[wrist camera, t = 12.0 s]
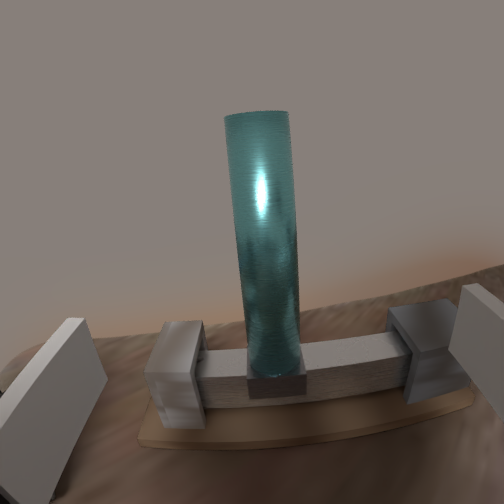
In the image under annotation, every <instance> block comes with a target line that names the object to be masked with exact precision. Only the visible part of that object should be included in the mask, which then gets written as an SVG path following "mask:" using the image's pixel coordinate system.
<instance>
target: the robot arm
mask: <svg viewBox="0 0 504 504" xmlns="http://www.w3.org/2000/svg"><path fill="white" fill-rule="evenodd" d="M448 350H449V351H450V352H451V354H452V355H453V356H454V357H455V359H456V360H457V361H458V363H459V364H460V365H461V366H462V368H463V369H464V370H465V371H466V373H467V374H468V375H469V377H470V378H471V379H472V381H473V382H474V383H475V384H476V386H477V387H478V388H479V390H480V391H481V392H482V394H483V395H484V397H485V398H486V399H487V401H488V402H489V403H490V405H491V406H492V408H493V409H494V410H495V412H496V413H497V415H498V416H499V417H500V419H501V420H502V422H503V423H504V303H503V302H501V301H500V300H499V299H498V298H496V297H495V296H494V295H493V294H491V293H490V292H489V291H487V290H486V289H485V288H484V287H482V286H481V285H480V284H478V283H475V284H469V285H463V286H462V290H461V296H460V301H459V306H458V311H457V315H456V320H455V324H454V329H453V333H452V337H451V341H450V345H449V348H448ZM107 381H108V378H107V376H106V374H105V371H104V369H103V366H102V364H101V361H100V359H99V356H98V353H97V351H96V348H95V345H94V343H93V340H92V337H91V334H90V331H89V329H88V326H87V323H86V320H85V318H67V319H66V321H65V322H64V323H63V324H62V325H61V326H60V327H59V328H58V329H57V331H56V332H55V333H54V334H53V335H52V336H51V337H50V338H49V340H48V341H47V342H46V343H45V344H44V345H43V347H42V348H41V349H40V350H39V351H38V352H37V354H36V355H35V356H34V357H33V358H32V359H31V361H30V362H29V363H28V364H27V365H26V367H25V368H24V369H23V370H22V372H21V373H20V374H19V375H18V376H17V378H16V379H15V380H14V381H13V383H12V384H11V385H10V386H9V388H8V389H7V390H6V391H5V392H3V393H2V394H1V395H0V504H9V503H10V504H49V501H50V499H51V497H52V494H53V492H54V490H55V488H56V485H57V483H58V481H59V479H60V476H61V474H62V472H63V470H64V467H65V465H66V463H67V461H68V459H69V457H70V455H71V452H72V450H73V448H74V446H75V444H76V442H77V440H78V438H79V436H80V434H81V432H82V430H83V428H84V426H85V424H86V421H87V419H88V417H89V415H90V414H91V412H92V410H93V408H94V406H95V404H96V402H97V400H98V398H99V396H100V394H101V392H102V390H103V388H104V386H105V384H106V383H107Z"/></svg>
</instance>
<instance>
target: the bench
mask: <svg viewBox="0 0 504 504" xmlns="http://www.w3.org/2000/svg"><path fill="white" fill-rule="evenodd" d="M457 311H458V308H457V307H456V306H455V305H454V304H453V303H452V302H451V301H450V300H448V299H447V298H445V299H440V300H434V301H428V302H422V303H416V304H410V305H403V306H397V307H390V308H388V315H387V323H386V331H385V333H386V332H392V331H398V332H399V333H400V335H401V336H402V338H403V339H404V340H405V342H406V343H407V345H408V346H409V348H410V349H411V351H412V352H413V356H412V361H411V365H410V370H409V374H408V378H407V382H406V385H404V386H399V387H395V388H390V389H385V390H380V391H375V392H370V393H364V394H359V395H353V396H347V397H341V398H334V399H327V400H320V401H312V402H303V403H294V404H284V405H272V406H259V407H241V408H208V409H203V406H202V402H201V398H200V395H199V391H198V387H197V383H196V379H195V375H194V371H195V366H196V362H197V357H198V353H199V351H208V347H207V342H206V337H205V331H204V326H203V321H202V320H201V321H178V322H165V323H164V325H163V327H162V330H161V332H160V334H159V336H158V339H157V341H156V343H155V346H154V348H153V350H152V353H151V355H150V357H149V360H148V362H147V364H146V367H145V369H144V371H143V373H144V376H145V379H146V382H147V384H148V387H149V390H150V393H151V398H150V401H149V404H148V407H147V410H146V413H145V416H144V419H143V422H142V425H141V428H140V431H139V434H138V437H137V440H138V442H139V444H140V446H141V447H151V448H164V449H183V450H246V449H265V448H278V447H289V446H299V445H307V444H315V443H323V442H329V441H336V440H342V439H348V438H353V437H358V436H364V435H368V434H373V433H378V432H382V431H387V430H391V429H395V428H399V427H403V426H407V425H411V424H414V423H418V422H421V421H425V420H428V419H432V418H435V417H438V416H441V415H444V414H447V413H450V412H453V411H456V410H459V409H462V408H465V407H467V406H470V405H472V403H473V401H474V399H475V397H476V396H475V395H474V393H473V392H472V391H471V389H470V388H469V384H470V382H471V378H470V377H469V375H468V374H467V373H466V371H465V370H464V369H463V368H462V366H461V365H460V364H459V363H458V361H457V360H456V359H455V357H454V356H453V355H452V354H451V352H450V351H449V350H448V348H449V345H450V341H451V337H452V333H453V329H454V324H455V320H456V315H457Z"/></svg>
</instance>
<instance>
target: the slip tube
mask: <svg viewBox="0 0 504 504" xmlns="http://www.w3.org/2000/svg"><path fill="white" fill-rule="evenodd" d="M224 122H225V133H226V143H227V154H228V163H229V173H230V174H229V175H230V185H231V195H232V205H233V214H234V224H235V234H236V243H237V253H238V261H239V271H240V280H241V289H242V298H243V307H244V316H245V325H246V334H247V342H248V345H247V348H246V349H230V350H210V351H199V353H198V357H197V362H196V366H195V371H194V375H195V379H196V383H197V387H198V391H199V395H200V398H201V402H202V406H203V409H208V408H241V407H259V406H272V405H284V404H294V403H303V402H312V401H320V400H327V399H334V398H341V397H347V396H353V395H359V394H364V393H370V392H375V391H380V390H385V389H390V388H395V387H399V386H404V385H406V382H407V378H408V374H409V370H410V365H411V361H412V356H413V352H412V351H411V349H410V348H409V346H408V345H407V343H406V342H405V340H404V339H403V338H402V336H401V335H400V333H399V332H398V331H392V332H386V333H380V334H373V335H367V336H360V337H353V338H346V339H338V340H330V341H322V342H313V343H304V344H300V311H299V281H298V280H299V278H298V254H297V253H298V252H297V231H296V212H295V195H294V179H293V166H292V165H293V164H292V152H291V139H290V126H289V114H288V112H287V111H256V112H246V113H239V114H233V115H229V116H225V117H224Z"/></svg>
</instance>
